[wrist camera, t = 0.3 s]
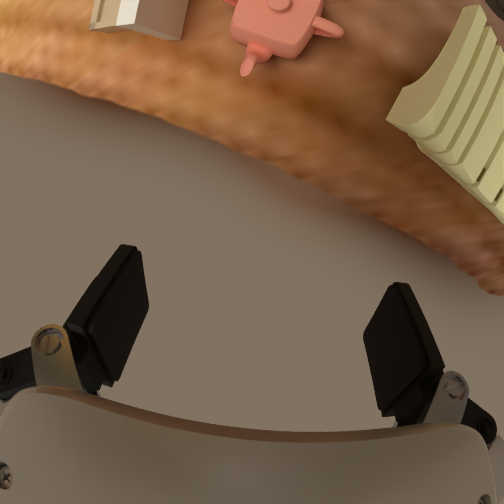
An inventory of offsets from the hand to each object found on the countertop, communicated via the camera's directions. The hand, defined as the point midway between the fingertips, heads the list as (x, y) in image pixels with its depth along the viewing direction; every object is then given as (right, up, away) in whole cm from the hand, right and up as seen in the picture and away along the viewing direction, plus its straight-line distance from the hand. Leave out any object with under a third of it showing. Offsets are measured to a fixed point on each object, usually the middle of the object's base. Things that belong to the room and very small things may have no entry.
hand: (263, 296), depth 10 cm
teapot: (+3, +31, +16) cm, 35 cm away
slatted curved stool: (+31, +21, +21) cm, 43 cm away
